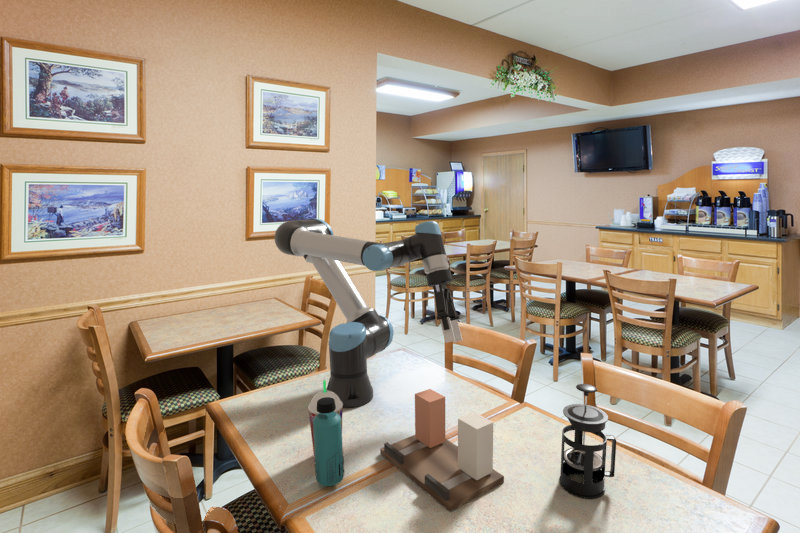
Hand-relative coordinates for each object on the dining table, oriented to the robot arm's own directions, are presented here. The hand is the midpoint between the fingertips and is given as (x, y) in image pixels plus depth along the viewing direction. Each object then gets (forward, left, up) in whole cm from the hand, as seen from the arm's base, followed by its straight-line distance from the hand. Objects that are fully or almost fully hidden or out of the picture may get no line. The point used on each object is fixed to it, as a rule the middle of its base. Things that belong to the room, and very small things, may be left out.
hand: (454, 341), depth 130 cm
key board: (+8, -28, -22) cm, 36 cm away
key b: (+2, -21, -20) cm, 29 cm away
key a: (+17, -27, -20) cm, 38 cm away
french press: (+39, -19, -22) cm, 48 cm away
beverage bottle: (-12, -45, -22) cm, 51 cm away
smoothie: (-19, -37, -22) cm, 46 cm away
